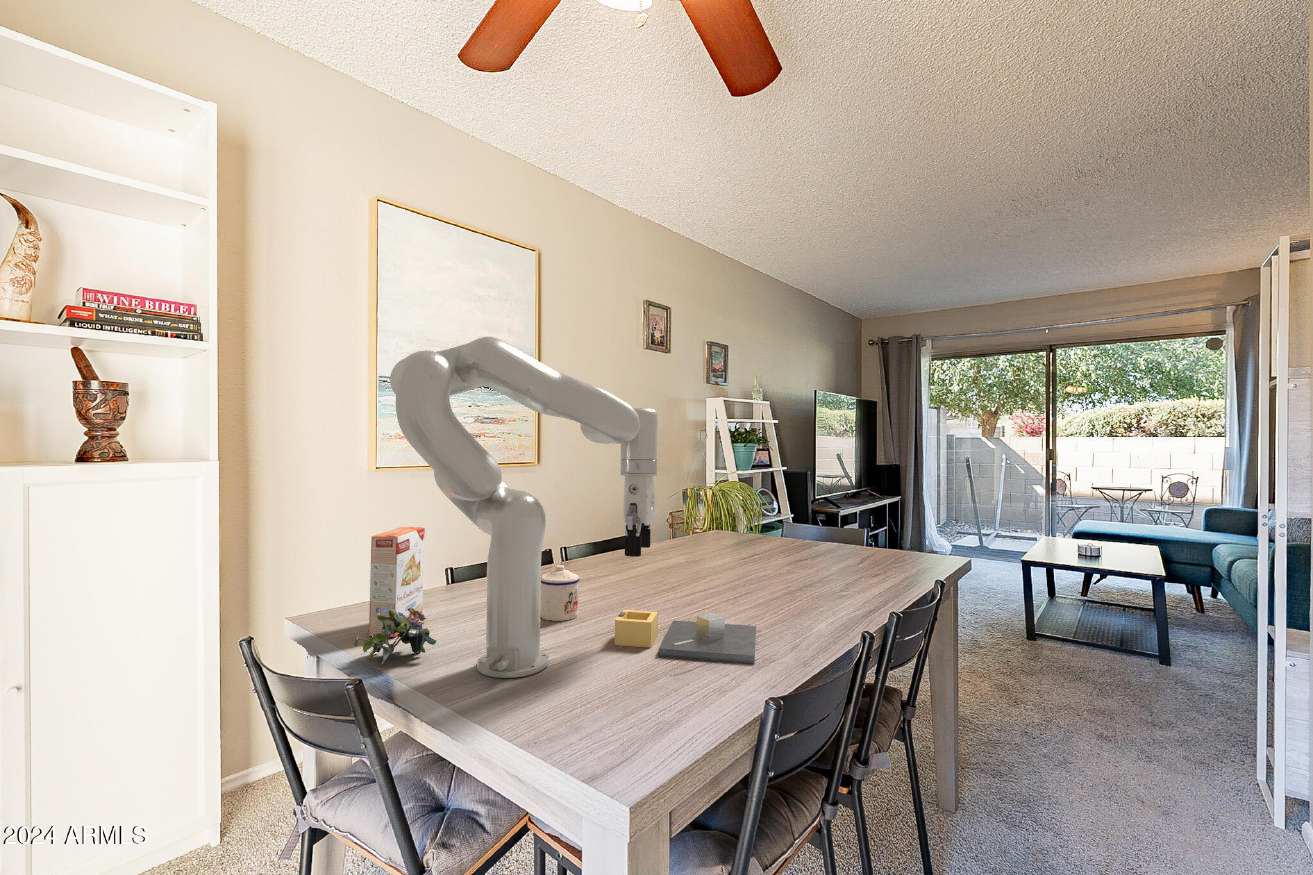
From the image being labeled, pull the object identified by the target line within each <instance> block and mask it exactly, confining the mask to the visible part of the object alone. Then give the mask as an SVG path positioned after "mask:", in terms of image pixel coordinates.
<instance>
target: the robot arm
mask: <svg viewBox="0 0 1313 875" xmlns="http://www.w3.org/2000/svg"><path fill="white" fill-rule="evenodd" d="M389 384H390V387H391V390H392V392H393V393H394V395H395V413H396V418H397V423H398V425H399V426H398V427H399V428H400V430H401V433H402V434H403V437H404V439H405V440H407V442H408V443H409V445H410V446H411V447H412V448H413V449H414V450H415V451H416V452H417V453H418V455H419V456H420V457H421V458H422V459H423V460H424V461H425V463H426V464H427V465H428V466H429V467H430V468H431V469H432V470H433V476H434V480H435V482H436V485H437V487H438V489H439V490H440V492H442V493H443V495H444V496H445V497H446V498H448V499H449V501H451V503H452V504H454V505H455V507H456V508H458V509H459V511H460V512H461V513H462V514H464V515H465V516H466V518H468V519H469V520H470V521H471V522H472V524H474V525H475V526H476V527H477V528H478V529H480V531H482V532H483V533H485V534H487V535H489V536H490V543H489V549H488V553H487V560H486V561H487V562H486V564H487V566H486V620H485V621H486V622H485V623H486V626H485V629H486V632H485V633H486V634H485V640H486V641H485V642H486V643H485V653H484V654H482V655H481V656H480V657H479V658H478V659H477V661H476V669H477V671H478V672H479V673H480V674H482V675H484V676H487V677H492V678H497V679H498V678H501V679H513V678H521V677H526V676H531V675H533V674H536V673H539V672H540V671H542V670H544V669H545V668H546V667H547V666H548V664H549V654H547V653H546V652H545V651H544V650H542V649H541V616H540V605H541V576H542V569H541V568H542V552H543V551H542V550H543V544H544V537H545V532H546V524H547V523H546V521H547V520H546V513H545V509H544V507H543V505H542V504H541V502H540V501H539V500H538V498H536V497H535V496H534V495H533V494H531V493H528V492H526V491H524V490H519V489H514V488H510V486H508V485H507V484H506V483H505V482H504V481H503V480H502V477H503V475H502V469H501V467H500V465H499V462H498V461H497V460H496V459H495V457H494V456H493V455H492V454H491V453H489V451H488V450H486V448H484V447H483V446H482V445H481V444H480V443H479V441H478V440H477V439H476V438H475V437H474V436H473V435H472V434H471V433H470V432H469V431H468V430H467V429H466V428H465V426H464V425H463V424H462V423H461V421H460V420H459V419H458V418H457V416H456V414H454V411H453V409H452V405H451V402H450V397H451V396H455V395H459V394H461V393H465V392H468V391H469V392H470V391H472V390H475V389H478V388H481V387H485V386H486V387H488V388H489V389H491V390H493V391H495V392H498V393H499V394H501V395H503V396H505V397H507V398H509V399H511V400H513V401H515V402H517V403H518V404H521V405H522V406H524V407H526V408H527V409H530V410H532V411H534V412H536V413H539V414H542V415H546V416H549V417H555V418H562V419H566V420H569V421H573V422H576V423H579V424H580V425H579V426H580V430H581V432H582V434H583V436H584V437H585V438H586V439H587V440H589V441H590V442H593V443H596V444H607V445H608V444H613V445H614V444H617V445H618V444H619V445H620V476H623V477H624V486H623V488H624V489H623V523H624V524H625V530H624V556H625V557H635V558H638V557H641V556H642V548H643V549H644V548H646V549H649V548H650V547H651V535H652V534H651V533H652V532H651V531H652V530H651V524H652V522H653V521H654V520H655V519H656V498H655V481H654V476H655V477H657V476H658V421H659V420H658V413H657V411H656V410H655V409H653V408H647V407H632V406H631V405H630V404H628V403H627V402H625V401H623V400H622V399H620V398H618V397H616V396H614V395H613V394H611V393H609V392H608V391H605V390H603V389H601V388H599V387H597V386H594V385H592V384H591V383H587V382H585V381H582V380H579V379H577V378H574V377H572V376H570V375H567V374H564V373H561V372H559V371H557V370H555V369H553V368H552V367H550V366H548V365H547V364H544V363H543V362H541V361H539V360H537V359H535V358H534V357H532V356H531V355H529V354H527V353H525V352H524V351H522V350H520V349H518V348H516V347H515V346H513V345H512V344H509V342H506V341H504V340H502V339H500V338H497V337H494V336H482V337H478V338H476V339H475V340H472V341H470V342H467V343H465V344H461V345H457V346H455V347H450V348H447V349H443V350H438V351H433V350H420V351H416V352H413V353H411V354H409V355H407V356H406V357H404V358H403V359H401V360H399V361H398V362H397V363H396V364H395V365H394V367H393V368H392V369H391V372H390V377H389Z"/></svg>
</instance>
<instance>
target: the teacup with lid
mask: <svg viewBox="0 0 1313 875" xmlns="http://www.w3.org/2000/svg"><path fill="white" fill-rule="evenodd" d="M579 582H580V576H579V575H578V574H576V573H575V572H571V571H570V570H568V569H565V566H564V565H563V564H562V565H561V564H560V565H559V564H557V565H555V569H553V570H551V571H549V572H548V573H546V574H545V573H544V574H542V575H541V605H540V618H541V619H543V620H545V621H549V620H552V621H551V622H565V620H566V621H570V619H571V620H574V619H575V618H576V617H578V616H579Z"/></svg>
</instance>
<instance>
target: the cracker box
mask: <svg viewBox="0 0 1313 875" xmlns="http://www.w3.org/2000/svg"><path fill="white" fill-rule="evenodd" d="M425 529H426V528H425V527H423V526H422V527H420V526H400V527H398V528H394V529H390V530H388V531H384V532H381V533H377V534H374V535H372V536H371V541H370V542H371V543H370V576H369V577H370V579H369V580H370V581H369V611H368V612H369V613H368V614H369V617H368V637H369V636H374V635H375V634H378V633H379V634H381V631H382V627H383V623H382V621H380V620H379V619H378V617H377V614H378V613H379V614H380V615H381V616H385V617H390V616H389V611H390V610H394V611H396V612H397V613H398V612H400V613H402V614H403V615H405V616H406V618H407V617H409V618H414V616H413V615H412V614H411V613H410V612H409V611H408V608H414V609H415V610H416V611H420V613H421V614H423V601H424V600H423V598H424V560H425V556H424V555H425V532H426V531H425ZM398 614H399V613H398ZM417 620H419V618H417V619H415V621H417ZM419 621H420V620H419ZM384 634H385V633H384ZM384 634H382V635H384ZM398 634H399V633H394V634H392V635H390V636H389V637H395V636H396V637H398ZM396 637H395V638H396Z"/></svg>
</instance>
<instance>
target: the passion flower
mask: <svg viewBox="0 0 1313 875" xmlns="http://www.w3.org/2000/svg"><path fill="white" fill-rule="evenodd" d="M408 611H409V612H410V613H411V614H412V615H413V616H414V618H409V617H407V618H406V616H405V615H403V614H402V613H400V612H398V613H399V614H398V613H397V612H396V611H394V610H390V611H389V616H390V617H385V616H381V615H380V614H379V613H378V614H377V617H378V619H379V620H380V621H382V623H383V627H382V631H381V634H379V633H378V634H375V635H374V636H373V637H370V638H369V639H365V638H362V635H359V634H358V635H356V638H355V639H354V642H353V645H354V647H357V646H358V642H359V641H364V643H363V645H362V652H363V653H364V654H365V653H367V652H368V650H370V649H371V648H372V650H371V652H369V656H368V658H369V660H372V658H373V656H374V653H375V652H378V653H379V652H381V650H382V660H381V663H380V665H382V666H383V665H384V663H385V662H386V660H387V659H388V658H389V657H390V656H391V655H392V653H394V651H395V648H396V647H397V646H398V644H400V642H402V643H403V644H405V645H408V644H410V648H411V651H412V653H414V654H415V653H419V652H420V653H423V654H424V653H426V650H425V648H424V644H425V643H427V644H429V645H433V646H434V645H436V644H437V640H436V639H434V638H433V637H431V635H432V634H430V633H431V632H430V629H429V628H426V627H423V625H424V624H425V622H424V621H425V620H427V617H425V614H423V613H422V614H421V613H420V611H416V610H415V609H414V608H408ZM417 618H419V619H420V620H419V621H418V620H417V621H415V619H417ZM384 633H385V634H384ZM394 633H399V635H397V638H396V639H395V640H394V642H393V643H389V639H390V638H389V636H390V635H392V634H394ZM382 634H384V635H382ZM385 645H386V646H385ZM420 653H419V654H420Z"/></svg>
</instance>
